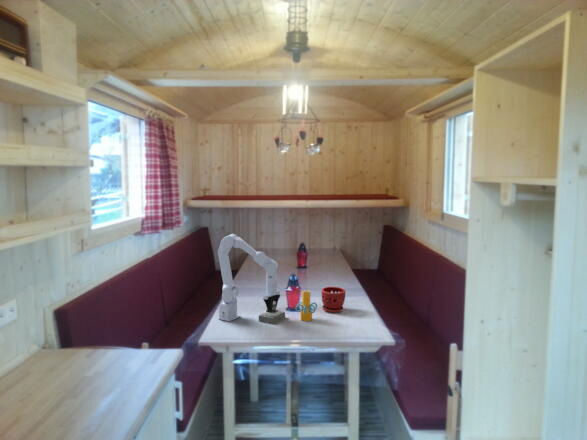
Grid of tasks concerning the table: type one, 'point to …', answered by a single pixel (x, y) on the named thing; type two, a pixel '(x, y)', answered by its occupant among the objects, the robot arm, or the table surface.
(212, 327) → the table surface
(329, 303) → the plant pot
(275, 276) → the robot arm
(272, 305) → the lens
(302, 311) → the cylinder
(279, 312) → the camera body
